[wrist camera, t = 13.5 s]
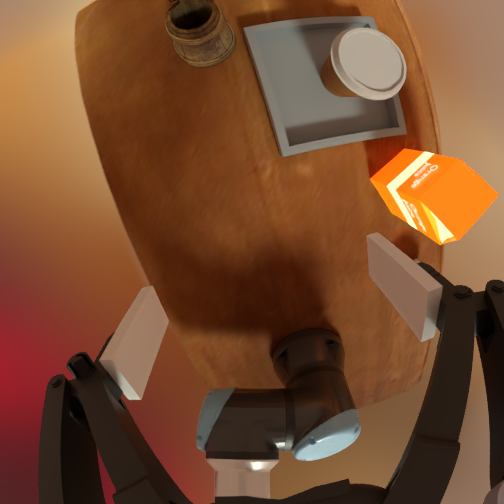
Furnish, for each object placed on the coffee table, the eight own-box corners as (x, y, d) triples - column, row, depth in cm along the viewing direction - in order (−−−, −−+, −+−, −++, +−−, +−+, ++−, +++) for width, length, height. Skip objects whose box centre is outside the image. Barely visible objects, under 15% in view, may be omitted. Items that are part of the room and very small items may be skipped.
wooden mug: (210, -7, 27) (193, -71, 10) (244, 53, 32) (244, -1, 15) (158, 16, 28) (114, -36, 12) (189, 77, 33) (149, 39, 17)
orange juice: (424, 183, 40) (505, 218, 22) (391, 213, 42) (465, 265, 24) (404, 147, 37) (490, 165, 19) (368, 178, 40) (446, 213, 21)
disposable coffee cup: (323, 40, 30) (350, 10, 19) (377, 71, 32) (418, 55, 21) (299, 88, 33) (320, 69, 22) (355, 118, 35) (394, 115, 24)
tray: (396, 133, 37) (407, 134, 33) (280, 155, 38) (283, 156, 35) (364, 23, 29) (372, 16, 26) (243, 36, 30) (243, 27, 27)
